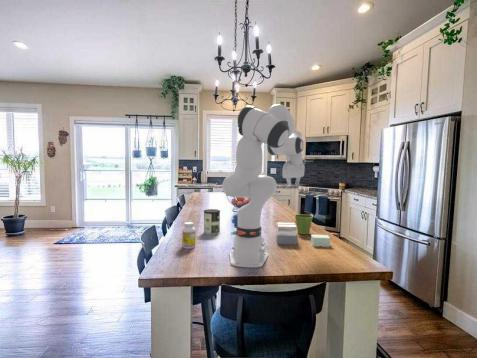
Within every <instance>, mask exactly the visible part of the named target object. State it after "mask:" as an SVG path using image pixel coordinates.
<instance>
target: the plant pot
mask: <svg viewBox="0 0 477 358" xmlns="http://www.w3.org/2000/svg"><path fill="white" fill-rule="evenodd" d="M294 218H295V222H296V223H295V225H296V232H297V234H300V235H309V234H310V232H311V225H312V222H313V219H314V216H313V215H312V214H303V213H301V214H300V213H299V214H294Z"/></svg>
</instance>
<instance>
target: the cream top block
mask: <svg viewBox="0 0 477 358" xmlns="http://www.w3.org/2000/svg"><path fill="white" fill-rule="evenodd" d="M276 225H277V226H276V229H277V232H278V235H284V236H296V234H297V224H296V223H295V222H280V221H278V222H276Z"/></svg>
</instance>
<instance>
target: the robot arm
mask: <svg viewBox="0 0 477 358" xmlns="http://www.w3.org/2000/svg"><path fill="white" fill-rule="evenodd" d="M295 127H296V125H295V120H294V117H293V115H292V113H291V112H290V110H289V109H288V107H286V106H285V105H283V104H280V103H278V104H276V103H275V104H273V105H271V106H270V107H269V108H268V109H267V111H265V110H262V109H260V108H258V107H257V106H253V105H246V106H244V107H243V108H242V109H241V110H240V111H239V113H238V115H237V128H238V134H239V135H240V136H242V137H241V138H240V139H239V140H238V142H237V145H236V150H235V151H236V152H235V164H236V166H235V171H234V172H233V173H231V174H229V175H227V176H226V177H225V178H224V180H223V181H222V184H221V185H222V187H221V188H222V191H223V193H224V194H225V196H226V197H232V198H240V199H241V198H242V199H243V198H244V199H246V198H247V199H250V202H249V203H246V204H245V205H243V206H241V207H239V208H238V210H237V213H238V226H237V228H236V229H235V230H236V231H235V232H236V234H235V235H234V237H233V246H232V248H231V249H232V250H231V251H229V253H228V254H229V262H230V265H231V266H233V267H236V268H237V267H238V268H250V269H251V268H252V269H253V268H261V267H263V266H264V264H265V262H266V260H267V259H268V257H269V253H268V252H265V250H266V249H265V245H266V244H265V237H263V236H262V226H261V223H262V222H261V220H262V219H261V218H262V212H263V209H264V206H265V204H266V203H267V201H268V200H269V199H271V198H272V197H273V196H275V194H276V192H277V190H278V185H277V181H276V179H275V178H274V177H272V176H269V175H265V174H262V173H263V149H262V144H265V145H266V150H267V152H268V154H269V155H271V156H281V155H282V156H283V155H284V156H285V162H284V164H283V165H282V172H281V173H282V174H281V176H282V178H283V179H286V183H287V187H292V179H295V183H294V185H295V186H299V185H300V181H301V178H303V177H304V175H305V167H306V166H305V164H306V160H305V159H304V158H303V154H302V151H304V140H303V137H302V136H303V134H302V132H301V131H298V130H295V129H296V128H295Z"/></svg>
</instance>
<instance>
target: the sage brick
mask: <svg viewBox="0 0 477 358" xmlns="http://www.w3.org/2000/svg"><path fill="white" fill-rule="evenodd" d="M310 244H311V246H312V247H319V246H322V247H323V248H330V247H331V246H330V245H331V238H330V236H329V235H328V234H311V235H310Z"/></svg>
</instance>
